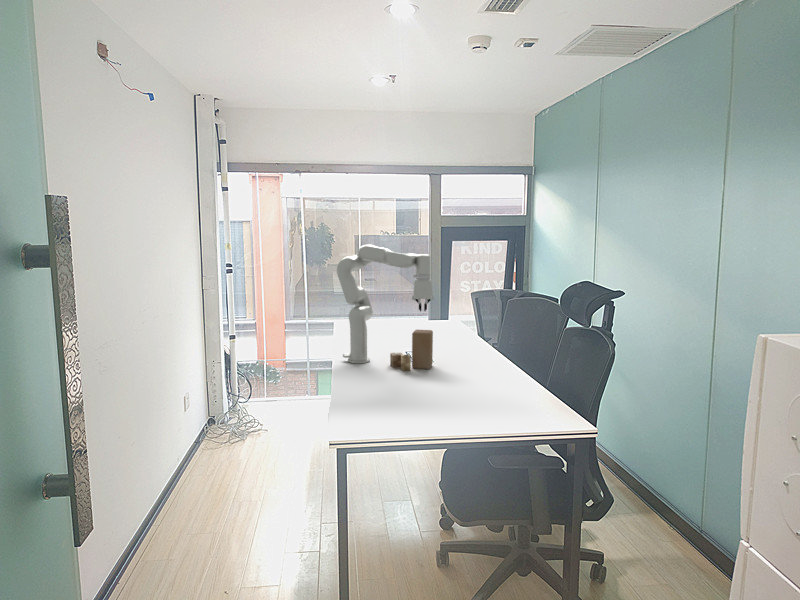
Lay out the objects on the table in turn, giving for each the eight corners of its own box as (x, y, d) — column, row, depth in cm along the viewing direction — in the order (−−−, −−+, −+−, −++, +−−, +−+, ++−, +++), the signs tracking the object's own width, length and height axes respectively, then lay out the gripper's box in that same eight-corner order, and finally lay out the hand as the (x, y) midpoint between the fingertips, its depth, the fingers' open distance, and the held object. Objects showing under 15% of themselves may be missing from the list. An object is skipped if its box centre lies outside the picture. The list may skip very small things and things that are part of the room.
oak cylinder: (401, 371, 299) (401, 356, 298) (401, 368, 304) (401, 354, 303) (410, 371, 299) (410, 356, 298) (410, 368, 304) (410, 354, 303)
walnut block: (392, 368, 306) (392, 355, 305) (390, 365, 312) (390, 352, 311) (403, 367, 307) (403, 354, 306) (400, 364, 313) (400, 352, 312)
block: (429, 369, 302) (430, 333, 300) (411, 368, 304) (411, 332, 302) (432, 365, 312) (433, 329, 309) (414, 364, 314) (415, 329, 311)
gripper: (408, 277, 298) (408, 312, 300) (438, 278, 298) (437, 312, 300) (408, 276, 305) (408, 310, 308) (437, 276, 305) (437, 310, 308)
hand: (422, 310), depth 304 cm, fingers closed
